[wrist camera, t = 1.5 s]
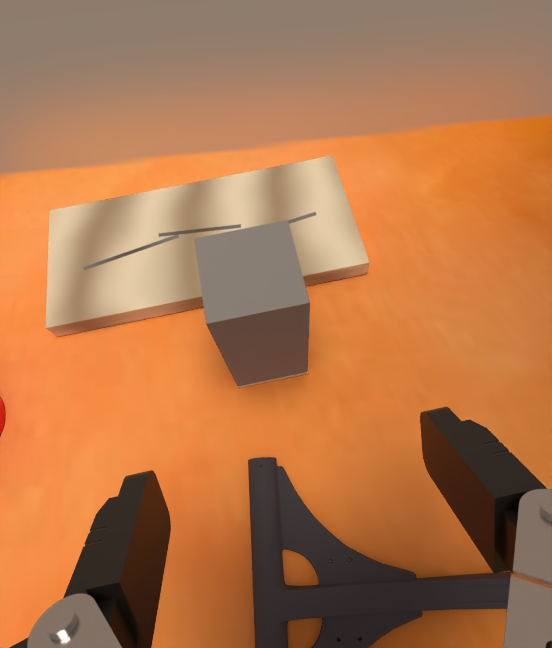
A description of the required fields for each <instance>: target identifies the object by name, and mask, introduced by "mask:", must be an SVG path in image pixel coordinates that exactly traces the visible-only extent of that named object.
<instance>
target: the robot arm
mask: <svg viewBox="0 0 552 648" xmlns="http://www.w3.org/2000/svg"><path fill="white" fill-rule="evenodd" d="M420 423H421V437H422V451H423V459H424V463H425V466H426V468H427V471H428V473H429V475H430V477H431V478H432V480H433V481H434V483H435V484H436V486H437V487H438V489H439V490H440V492H441V493H442V495H443V496H444V498H445V499H446V501H447V503H448V504H449V506H450V507H451V509H452V510H453V512H454V513H455V515H456V516H457V518H458V519H459V521H460V522H461V524H462V525H463V527H464V528H465V530H466V531H467V533H468V535H469V536H470V538H471V539H472V541H473V542H474V544H475V545H476V547H477V548H478V550H479V551H480V553H481V554H482V556H483V557H484V559H485V560H486V562H487V563H488V565H489V566H490V568H491V570H492V571H493V573H494V574H495V573H499V572H504V571H508V570H510V571H511V578H510V588H509V598H508V609H507V619H506V629H505V639H504V648H552V490H551V489H547V488H546V487H545V486H544V485H543V484H542V483H541V482H540V481H539V480H538V479H537V478H536V477H535V476H534V475H533V474H532V473H531V472H530V471H529V470H528V469H527V468H526V467H525V466H524V465H523V464H522V463H521V462H520V461H519V460H518V459H517V458H516V457H515V456H514V455H513V454H512V453H509V450H508V449H507V448H506V447H505V446H504V445H503V444H502V443H500V442H499V440H498V439H497V438H496V437H495V436H494V435H493V434H492V433H491V432H490V431H489V430H488V429H487V428H485V427H483V426H481V425H479V424H477V423H475V422H473V421H471V420H466V421H462V422H461V420H460V419H459V418H458V417H457V416H456V415H455V414H454V413H453V412H452V411H451V410H450V409H449V408H448V407H443V408H438V409H434V410H429V411H424V412H422V413H421V415H420ZM170 530H171V525H170V515H169V511H168V508H167V505H166V502H165V499H164V497H163V494H162V491H161V488H160V485H159V483H158V480H157V477H156V475H155V473H154V471H152V470H151V471H147V472H142V473H138V474H133V475H128V476H126V477H125V478H124V481H123V484H122V486H121V489H120V492H119V495H118V496H117V497H113V498H109V499H108V500H107V502H106V503H105V504H104V505H103V506H102V508H101V509H100V510H99V511H98V513H97V514H96V516H95V519H94V521H93V524H92V526H91V529H90V533H89V534H88V537H87V539H86V542H85V547H83V549H82V552H81V555H80V557H79V560H78V562H77V565H76V567H75V570H74V572H73V575H72V577H71V580H70V583H69V585H68V588H67V590H66V593H65V595H64V598H63V599H61V600H59V601H58V602H56V603H55V604H53V605H52V606H51V607H50V608H49V609H47V610H46V611H45V612H44V613H43V614H42V616H41V617H40V618H39V619H38V621H37V622H36V623H35V625H34V627H33V628H32V630H31V633H30V635H29V637H28V638H26V639H25V640H23V641H21V642H19V643H17V644H15V645H14V646H12V647H10V648H151V646H152V640H153V634H154V628H155V622H156V616H157V610H158V604H159V598H160V592H161V586H162V580H163V574H164V568H165V562H166V556H167V550H168V544H169V538H170Z"/></svg>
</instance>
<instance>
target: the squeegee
mask: <svg viewBox="0 0 552 648" xmlns="http://www.w3.org/2000/svg"><path fill="white" fill-rule="evenodd" d="M248 465H249V492H250V518H251V544H252V571H253V597H254V623H255V648H288V638H287V622H288V621H289V620H296V619H306V618H316V617H322V628H321V632H320V635H319V637H318V639H317V641H316V643H315V644H314V646H313V647H312V648H368V647H369V646H370V645H372V644H373V643H374V642H375V641H377V640H378V639H379V638H380V637H382V636H383V635H385V634H386V633H388V632H390V631H391V630H393V629H395V628H397V627H399V626H401V625H403V624H405V623H408V622H410V621H412V620H414V619H417V618H419V617H421V616H422V610H446V609H508V598H509V588H510V578H511V572H501V573H495V574H494V573H486V574H472V575H457V576H443V577H428V578H416V575H415V573H414V572H410V571H407V570H403V569H400V568H396V567H392V566H389V565H386V564H382V563H380V562H377V561H375V560H373V559H370V558H368V557H366V556H364V555H362V554H361V553H359V552H357V551H355V550H353V549H351V548H349V547H347V546H346V545H344V544H343V543H342V542H341V541H339V540H338V539H337V538H336V537H335V536H334V535H332V534H331V533H330V532H329V531H328V530H327V529H326V528H325V527H324V526H323V525H322V524H321V523H320V522H319V521H318V520H317V519H316V518H315V517H314V516H313V515H312V513H311V512H310V511H309V510H308V508H307V507H306V506H305V504H304V503H303V502H302V500H301V499H300V497H299V496H298V494H297V492H296V491H295V489H294V487H293V485H292V483H291V482H290V480H289V478H288V476H287V474H286V472H285V470H284V468H283V467H282V466H277V464H276V458H271V457H267V458H254V459H250V460H248ZM283 549H288V550H292V551H295V552H298V553H300V554H302V555H303V556H304V557H306V558H307V559H308V560H309V561H310V563H311V564H312V565H313V567H314V569H315V571H316V573H317V575H318V579H319V585H312V586H290V585H286V584H285V582H284V574H283V561H282V550H283ZM349 558H352V560H351V561H348V559H349ZM329 559H331V560H332V562H331V563H330V562H329ZM359 636H360V637H361V639H358V637H359ZM337 638H340V640H339V641H338V640H337Z"/></svg>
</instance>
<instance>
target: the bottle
mask: <svg viewBox="0 0 552 648" xmlns="http://www.w3.org/2000/svg"><path fill="white" fill-rule="evenodd" d="M4 421H5V409H4V404H3V402H2V400H1V397H0V434H1V432H2V429H3V426H4Z"/></svg>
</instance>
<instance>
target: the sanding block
mask: <svg viewBox="0 0 552 648" xmlns="http://www.w3.org/2000/svg"><path fill="white" fill-rule="evenodd" d="M194 242H195V249H196V256H197V263H198V270H199V277H200V284H201V291H202V298H203V305H204V312H205V319H206V324H207V326H208V328H209V330H210V332H211V334H212V336H213V338H214V340H215V342H216V344H217V346H218V348H219V350H220V352H221V354H222V356H223V358H224V360H225V362H226V364H227V366H228V368H229V370H230V372H231V374H232V376H233V378H234V380H235V382H236V384H237V388H238V389H239V388H244V387H249V386H254V385H258V384H263V383H268V382H273V381H277V380H282V379H287V378H292V377H296V376H301V375H306V374H308V370H307V365H308V338H309V312H310V301H309V298H308V294H307V290H306V286H305V282H304V279H303V275H302V271H301V267H300V264H299V260H298V256H297V252H296V248H295V245H294V241H293V237H292V233H291V229H290V226H289V222H288V220H285V221H279V222H274V223H269V224H264V225H259V226H254V227H249V228H244V229H239V230H234V231H229V232H224V233H219V234H214V235H209V236H204V237H199V238H194Z"/></svg>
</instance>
